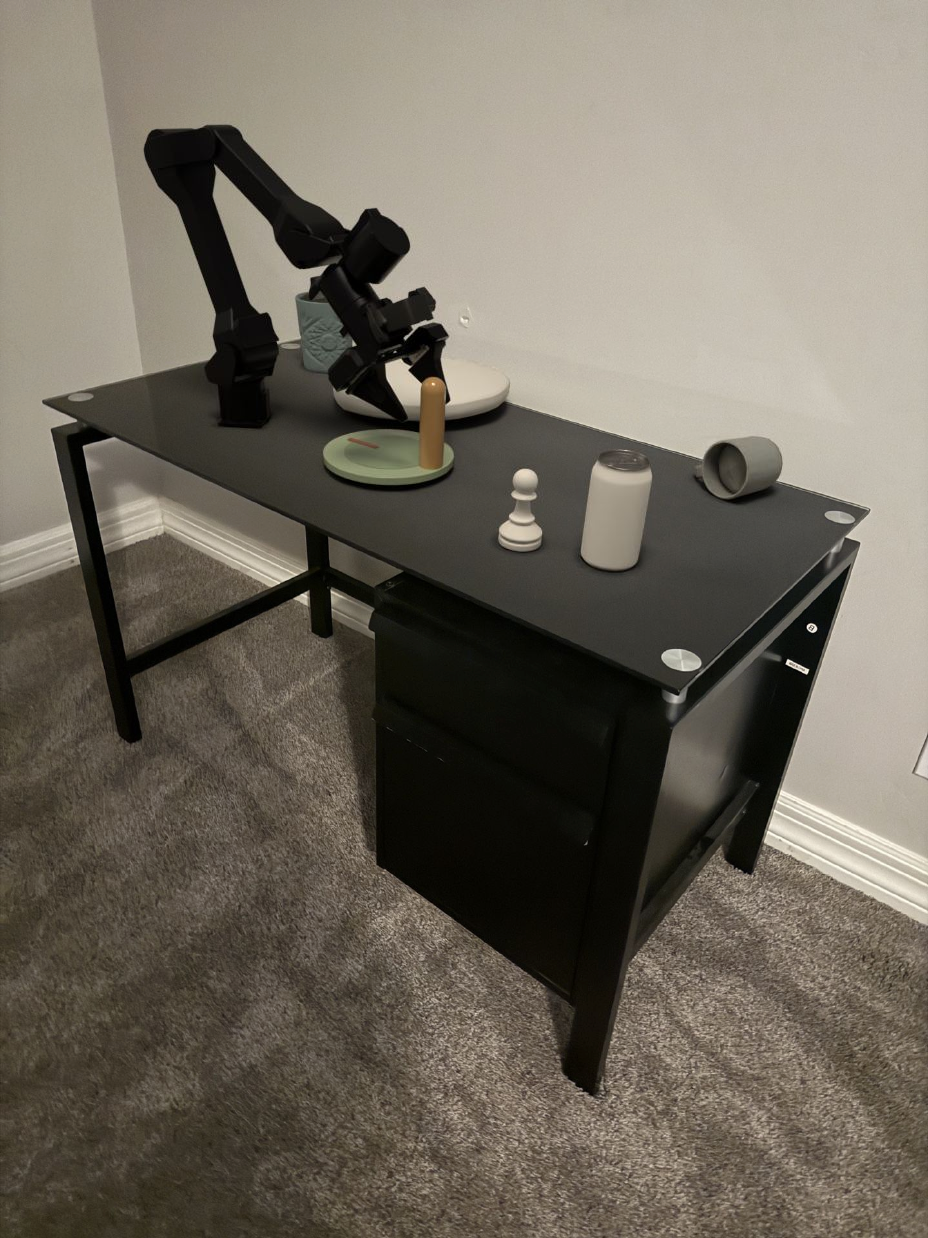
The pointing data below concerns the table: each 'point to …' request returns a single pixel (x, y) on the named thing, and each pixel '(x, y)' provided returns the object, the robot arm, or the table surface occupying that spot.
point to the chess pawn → (522, 516)
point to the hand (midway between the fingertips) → (427, 411)
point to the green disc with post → (397, 447)
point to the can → (616, 510)
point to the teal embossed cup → (319, 333)
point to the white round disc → (466, 383)
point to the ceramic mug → (740, 466)
